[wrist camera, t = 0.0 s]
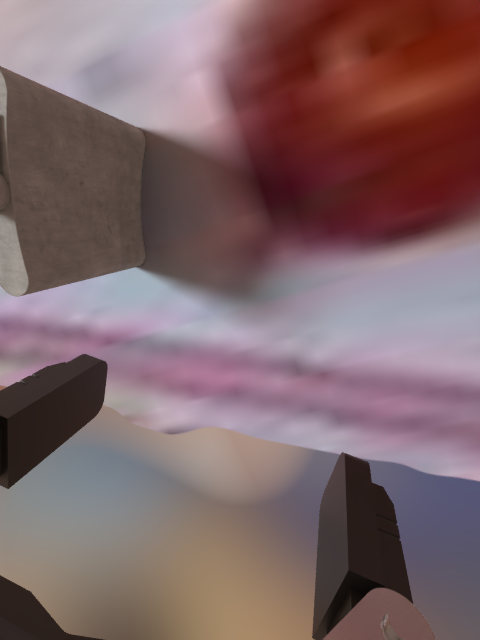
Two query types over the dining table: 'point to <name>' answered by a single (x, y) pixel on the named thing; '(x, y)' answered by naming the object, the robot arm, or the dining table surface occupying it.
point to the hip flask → (65, 189)
